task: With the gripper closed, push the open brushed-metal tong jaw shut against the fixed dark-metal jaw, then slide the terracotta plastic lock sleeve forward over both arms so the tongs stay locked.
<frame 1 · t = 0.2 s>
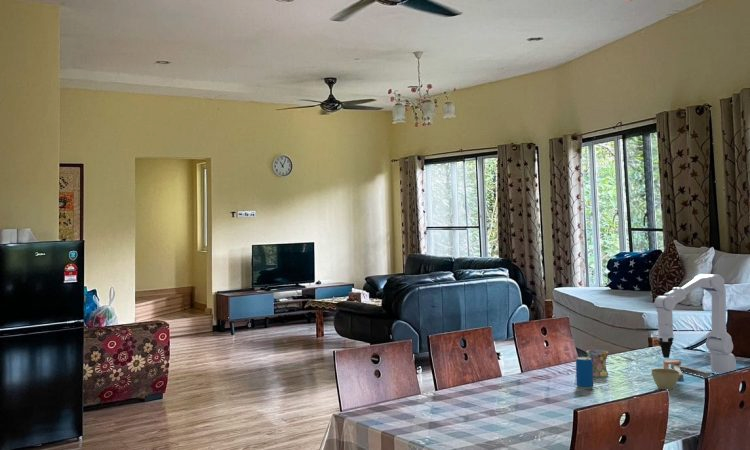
hand: (666, 356, 260), 10 cm above the table, fingers open, 7 cm apart
lock sleeve: (672, 365, 277), point 2 cm above the table, slide at 0.0 cm
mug: (596, 376, 268), on the table
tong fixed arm: (689, 373, 268), on the table
tong jaw: (677, 372, 264), point 2 cm above the table, hinge at -35.0°
beverage can: (585, 388, 249), on the table
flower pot: (665, 389, 243), on the table
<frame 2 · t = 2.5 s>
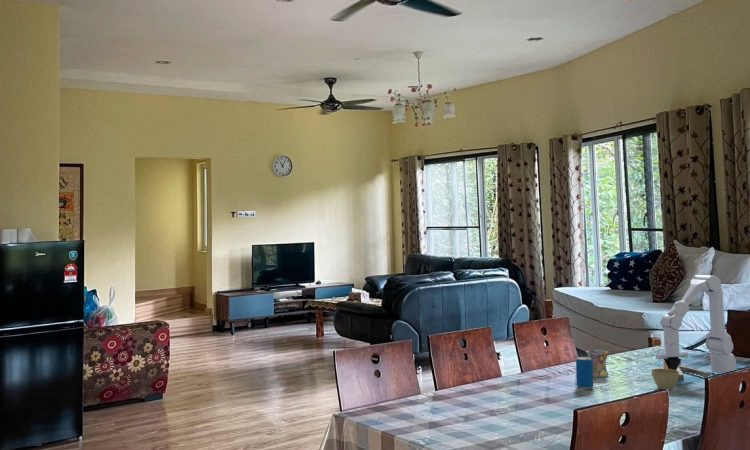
hand: (672, 375, 260), 2 cm above the table, fingers closed
tong jaw: (677, 372, 264), point 2 cm above the table, hinge at -34.7°, touching gripper
everything else where it was.
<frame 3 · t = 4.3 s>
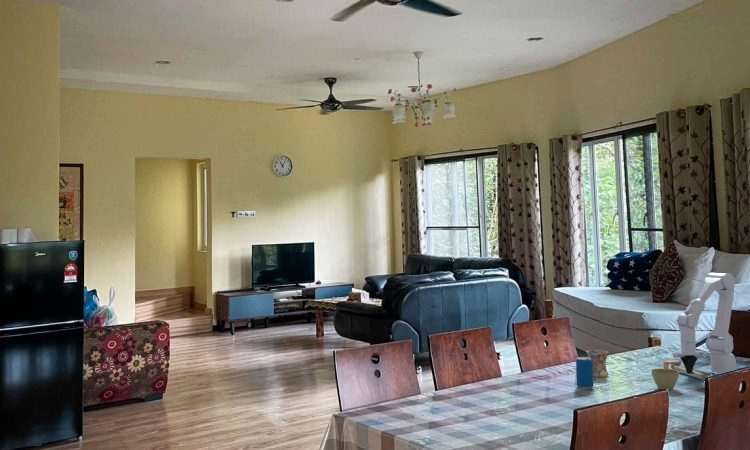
hand: (689, 373, 262), 2 cm above the table, fingers closed
tong jaw: (690, 372, 263), point 2 cm above the table, hinge at -4.7°, touching gripper
everything else where it was.
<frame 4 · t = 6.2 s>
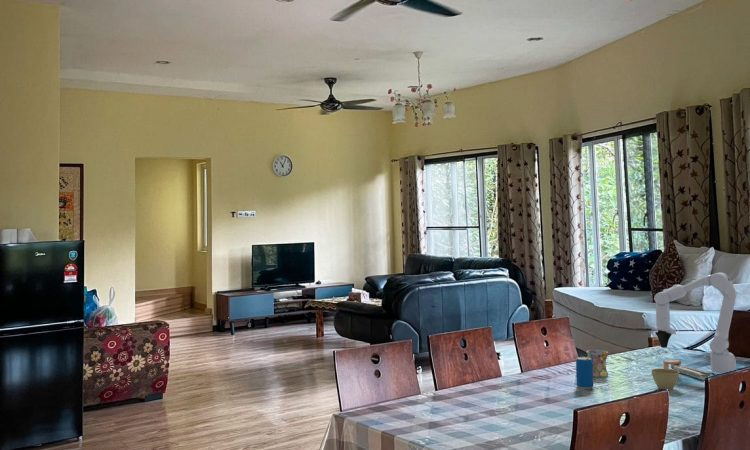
hand: (664, 347, 281), 9 cm above the table, fingers closed
tong jaw: (690, 372, 263), point 2 cm above the table, hinge at -4.7°
everything else where it was.
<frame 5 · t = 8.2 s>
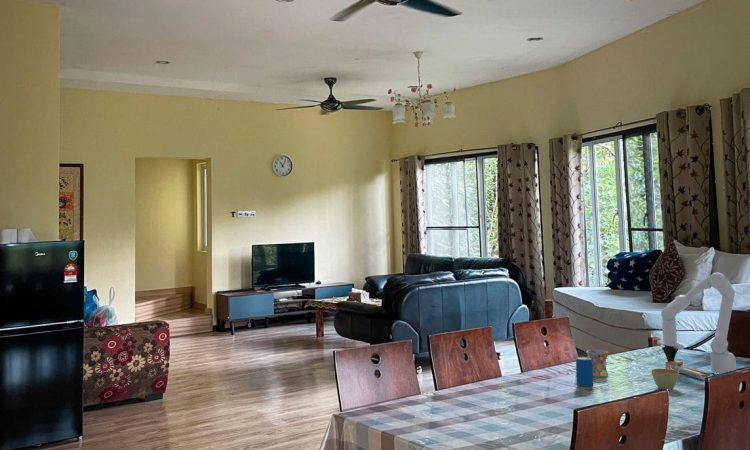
hand: (670, 362, 277), 3 cm above the table, fingers closed
lock sleeve: (674, 365, 275), point 2 cm above the table, slide at 1.2 cm, touching gripper
everything else where it was.
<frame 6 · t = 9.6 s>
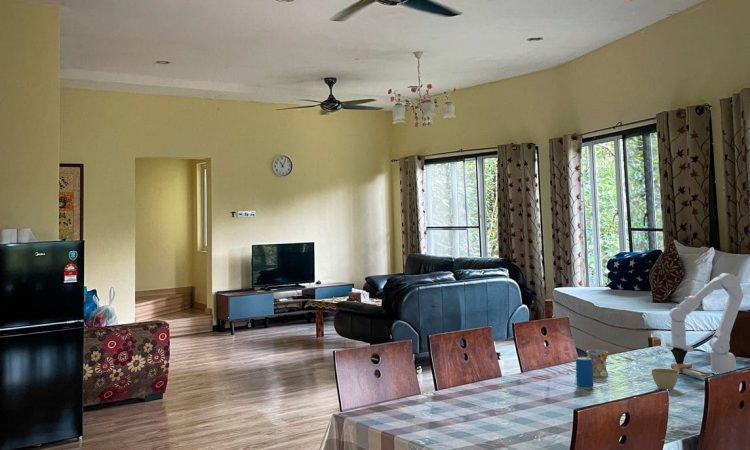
hand: (679, 365, 272), 3 cm above the table, fingers closed
lock sleeve: (683, 368, 270), point 2 cm above the table, slide at 6.9 cm, touching gripper
everything else where it was.
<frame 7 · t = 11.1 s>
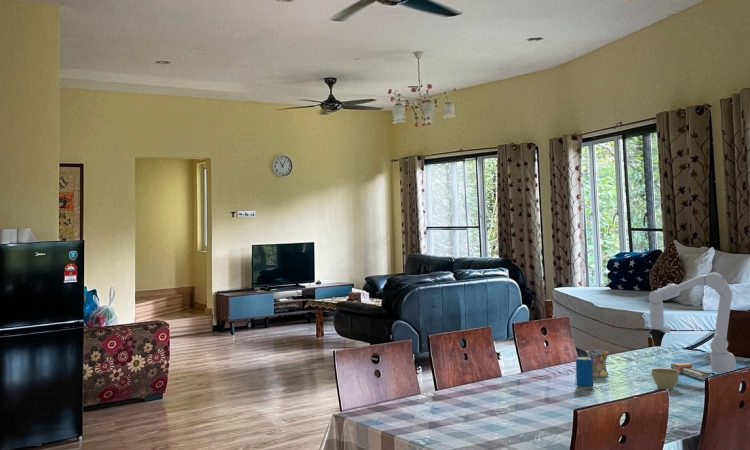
hand: (657, 346, 281), 10 cm above the table, fingers closed
lock sleeve: (683, 368, 270), point 2 cm above the table, slide at 6.9 cm
everything else where it was.
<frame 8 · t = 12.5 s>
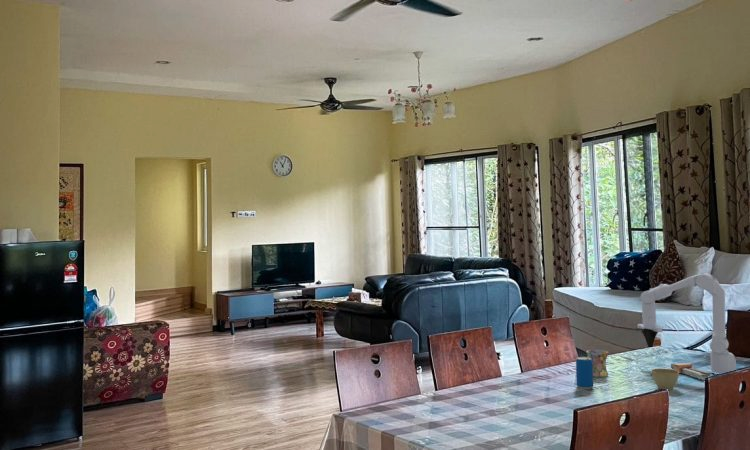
hand: (650, 345, 284), 10 cm above the table, fingers closed
nothing on the table moved.
at the end: tong jaw at -5° (first picture: -35°); lock sleeve slide at 6.9 cm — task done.
